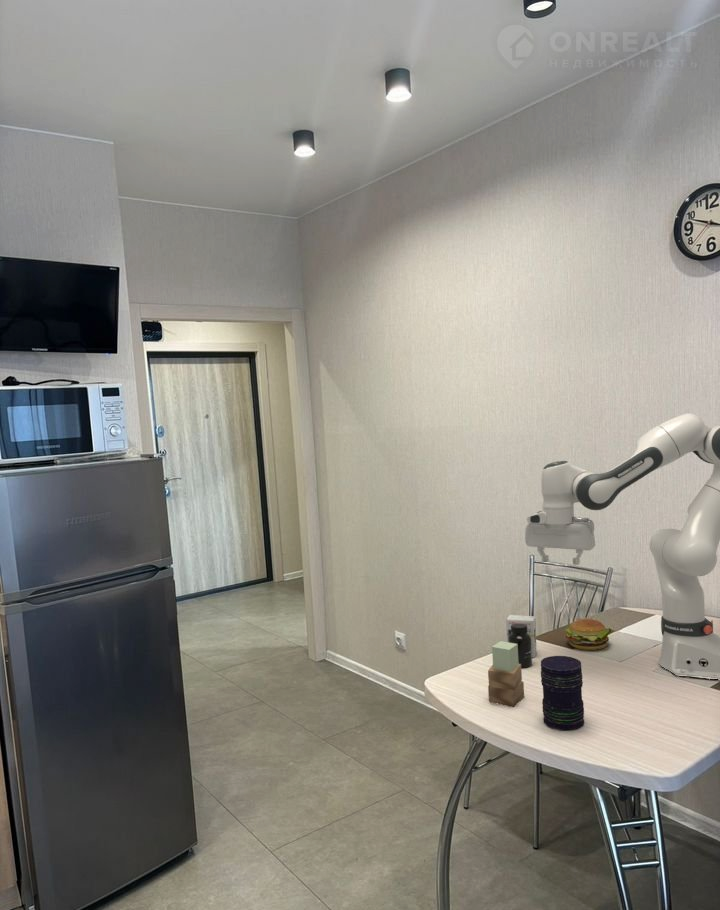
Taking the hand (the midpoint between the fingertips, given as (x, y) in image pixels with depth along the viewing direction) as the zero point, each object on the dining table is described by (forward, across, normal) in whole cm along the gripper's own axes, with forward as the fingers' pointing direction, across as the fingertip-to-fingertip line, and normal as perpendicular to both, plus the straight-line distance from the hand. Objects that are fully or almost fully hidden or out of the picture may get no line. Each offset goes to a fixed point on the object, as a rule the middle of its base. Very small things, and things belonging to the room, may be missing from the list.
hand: (560, 563), depth 206 cm
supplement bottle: (+31, +12, +5) cm, 34 cm away
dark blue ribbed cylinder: (+31, -12, +35) cm, 49 cm away
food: (+31, 0, -20) cm, 37 cm away
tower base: (+31, +5, +30) cm, 44 cm away
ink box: (+31, +15, -3) cm, 35 cm away
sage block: (+22, +5, +30) cm, 37 cm away
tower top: (+27, +5, +30) cm, 40 cm away
